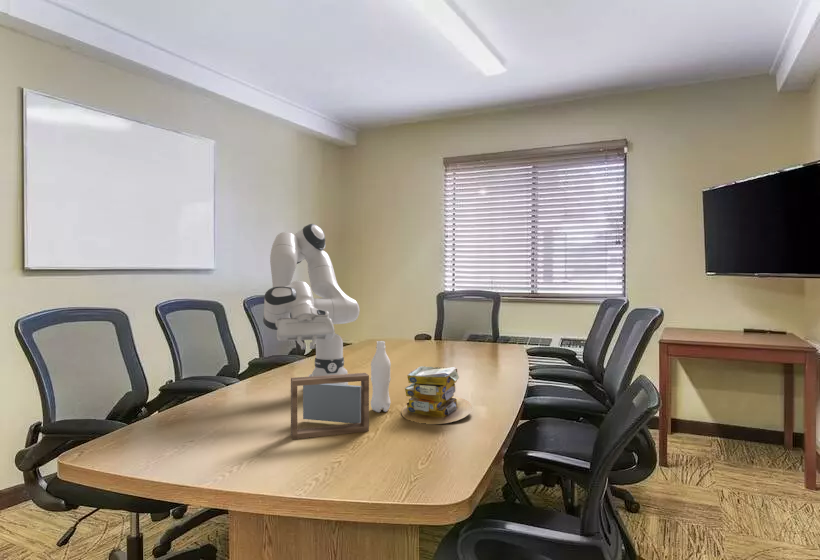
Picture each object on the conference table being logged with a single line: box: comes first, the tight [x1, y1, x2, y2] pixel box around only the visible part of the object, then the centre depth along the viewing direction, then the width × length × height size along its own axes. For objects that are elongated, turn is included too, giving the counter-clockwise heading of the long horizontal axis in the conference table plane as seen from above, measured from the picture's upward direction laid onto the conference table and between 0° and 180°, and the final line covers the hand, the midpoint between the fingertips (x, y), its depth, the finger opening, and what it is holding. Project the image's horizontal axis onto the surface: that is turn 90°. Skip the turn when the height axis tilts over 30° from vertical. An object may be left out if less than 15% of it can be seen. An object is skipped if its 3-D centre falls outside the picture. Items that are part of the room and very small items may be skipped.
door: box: [302, 384, 361, 424], centre depth 166 cm, size 2×20×12 cm, turn 75°
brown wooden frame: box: [290, 372, 370, 440], centre depth 156 cm, size 4×24×18 cm, turn 110°
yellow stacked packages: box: [401, 365, 473, 425], centre depth 177 cm, size 25×25×17 cm
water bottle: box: [370, 340, 391, 413], centre depth 181 cm, size 7×7×25 cm
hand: (308, 348), depth 176 cm, fingers closed
